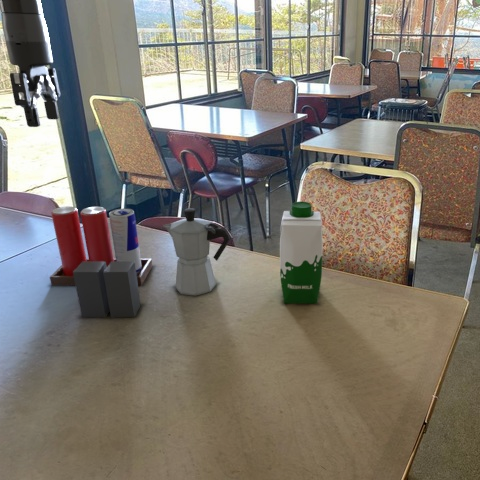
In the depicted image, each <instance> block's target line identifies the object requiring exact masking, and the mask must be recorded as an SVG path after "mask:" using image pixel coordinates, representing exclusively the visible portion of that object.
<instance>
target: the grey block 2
mask: <svg viewBox="0 0 480 480" xmlns="http://www.w3.org/2000/svg"><path fill="white" fill-rule="evenodd" d="M103 274H104V280H105V286H106V292H107V297H108V303H109V309H110V311H109V314H110V318H135V317H136V315H137V313H138V311H139V309H140V307H141V305H142V304H141V298H140V297H141V296H140V290H139V289H140V288H139V286H138V282H137V275H136V268H135V261H111V262H110V264H109V265H108V266H107V268H106V269H105V270H104V272H103Z"/></svg>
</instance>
